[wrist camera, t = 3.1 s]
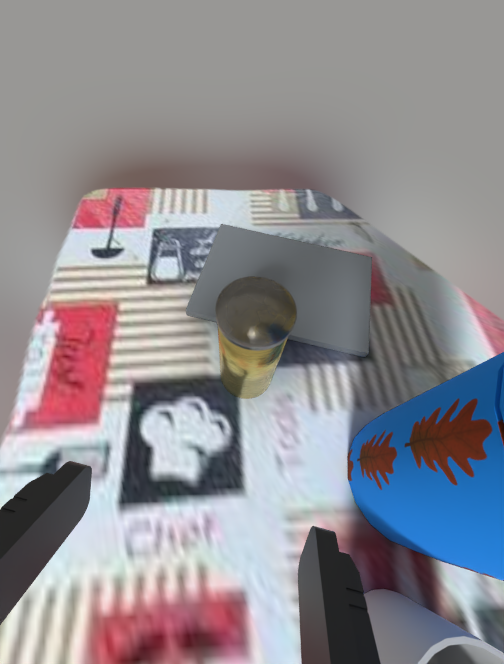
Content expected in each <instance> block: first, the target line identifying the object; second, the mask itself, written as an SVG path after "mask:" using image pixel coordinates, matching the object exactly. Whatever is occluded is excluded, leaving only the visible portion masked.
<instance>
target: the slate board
mask: <svg viewBox="0 0 504 664" xmlns="http://www.w3.org/2000/svg"><path fill="white" fill-rule="evenodd" d="M371 271H372V257H368V256H364V255H359V254H355V253H350V252H346V251H341V250H337V249H332V248H328V247H323V246H319V245H314V244H309V243H305V242H300V241H296V240H291V239H287V238H282V237H278V236H273V235H269V234H264V233H260V232H255V231H251V230H246V229H242V228H237V227H233V226H228V225H223V224H221V226H220V228H219V230H218V233H217V235H216V238H215V240H214V243H213V245H212V247H211V250H210V252H209V255H208V257H207V260H206V262H205V265H204V267H203V269H202V272H201V274H200V277H199V279H198V282H197V284H196V286H195V289H194V291H193V294H192V296H191V299H190V301H189V303H188V306H187V308H186V314H187V315H188V316H192V317H197V318H201V319H205V320H209V321H213V322H217V321H216V309H215V307H216V301H217V298H218V296H219V294H220V292H221V291H222V290H223V289H224V288H225V287H226V286H227V285H228V284H229V283H231V282H233V281H235V280H237V279H240V278H243V277H249V276H260V277H265V278H269V279H272V280H274V281H276V282H278V283H280V284H281V285H283V286H284V287H285V288H286V289H287V290H288V291H289V292H290V293H291V295H292V296H293V298H294V300H295V303H296V306H297V319H296V322H295V325H294V327H293V330H292V332H291V334H290V335H289V337H288V339H290V340H294V341H298V342H302V343H306V344H311V345H315V346H319V347H323V348H328V349H332V350H336V351H340V352H344V353H349V354H353V355H357V356H361V357H366V356H367V355H368V354H369V331H370V301H371Z"/></svg>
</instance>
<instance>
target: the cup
mask: <svg viewBox="0 0 504 664" xmlns="http://www.w3.org/2000/svg"><path fill="white" fill-rule="evenodd" d="M364 596H365V600H366V604H367V608H368V610H367V611H368V613H369V616H370V621H371V625H372V629H373V633H374V638H375V642H376V646H377V650H378V654H379V659H380V663H381V664H504V653H503V652H501V651H499V650H497V649H496V648H494V647H492V646H491V645H489V644H487V643H486V642H484V641H482V640H480V639H479V638H477V637H475V636H473V635H472V634H470V633H468V632H466V631H465V630H463V629H461V628H460V627H458V626H456V625H454V624H453V623H451V622H449V621H447V620H446V619H444V618H442V617H440V616H439V615H437V614H435V613H433V612H432V611H430V610H428V609H427V608H425V607H423V606H421V605H420V604H418V603H416V602H414V601H413V600H411V599H409V598H407V597H406V596H404V595H402V594H400V593H398V592H395V591H391V590H387V589H376V590H371V591H369V592H367V593H365V594H364Z"/></svg>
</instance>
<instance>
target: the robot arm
mask: <svg viewBox="0 0 504 664" xmlns="http://www.w3.org/2000/svg"><path fill="white" fill-rule="evenodd" d="M91 474H92V468H91V467H90V466H87V465H83V464H80V463H76V462H72V461H69V462H67V463H65V464H64V465H63V466H62V467H61V468H60V469H59V470H58V471H57V472H56V473H55V474H54V475H53V474H49V473H46V474H44V475H42V476H40V477H39V478H37V479H35V480H33V481H31V482H29V483H28V484H27V485H26V486H25V487H24V488H22V489H21V490H20V491H19V492H18V493H17V494H16V495H15V496H14V498H13V499H10V500H9V501H8V502H7V503H6V504H5V505H4V506H2V508H1V510H0V625H1V623H2V622H3V621H4V619H5V618H6V617H7V615H8V614H9V613H10V611H11V610H12V609H13V607H14V606H15V605H16V604H17V602H18V601H19V600H20V598H21V597H22V596H23V594H24V593H25V592H26V590H27V589H28V588H29V587H30V585H31V584H32V583H33V581H34V580H35V579H36V577H37V576H38V575H39V573H40V572H41V571H42V570H43V568H44V567H45V566H46V564H47V563H48V562H49V560H50V559H51V558H52V556H53V555H54V554H55V552H56V551H57V550H58V549H59V547H60V546H61V545H62V543H63V542H64V541H65V539H66V538H67V537H68V535H69V534H70V533H71V532H72V530H73V529H74V528H75V526H76V525H77V524H78V522H79V521H80V520H81V518H82V517H83V515H84V513H85V511H86V509H87V507H88V504H89V500H90V488H91ZM298 590H299V612H300V635H301V658H302V664H381V663H380V659H379V654H378V650H377V646H376V642H375V638H374V633H373V629H372V625H371V621H370V616H369V613H368V611H367V610H368V608H367V604H366V600H365V596H364V591H363V587H362V583H361V578H360V574H359V572H358V570H357V568H356V566H355V564H354V563H353V561H352V559H351V557H350V555H349V554H345V553H341V552H339V548H338V543H337V538H336V534H335V532H334V531H330V530H326V529H322V528H319V527H315V526H312V527H311V529H310V532H309V535H308V537H307V540H306V543H305V546H304V549H303V552H302V555H301V558H300V562H299V569H298Z"/></svg>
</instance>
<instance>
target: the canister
mask: <svg viewBox="0 0 504 664" xmlns="http://www.w3.org/2000/svg"><path fill="white" fill-rule="evenodd" d="M215 309H216V321H217V325H218V335H219V354H220V372H221V380H222V383H223V385H224V387H225V388H226V390H227V391H228V392H230V393H231V394H232V395H234V396H236V397H239V398H244V399H249V398H254V397H257V396H259V395H261V394H262V393H263V392H265V391H266V389H267V388H268V386H269V385H270V382H271V380H272V377H273V375H274V372H275V369H276V367H277V364H278V362H279V359H280V357H281V354H282V351H283V349H284V346H285V344H286V341H287V339H288V337H289V335H290V334H291V332H292V330H293V327H294V325H295V322H296V319H297V306H296V303H295V300H294V298H293V296H292V295H291V293H290V292H289V291H288V290H287V289H286V288H285V287H284V286H283V285H281V284H280V283H278V282H276V281H274V280H272V279H269V278H265V277H260V276H249V277H243V278H240V279H237V280H235V281H233V282H231V283H229V284H228V285H227V286H226V287H225V288H224V289H223V290H222V291H221V292H220V294H219V296H218V298H217V301H216V307H215Z"/></svg>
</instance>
